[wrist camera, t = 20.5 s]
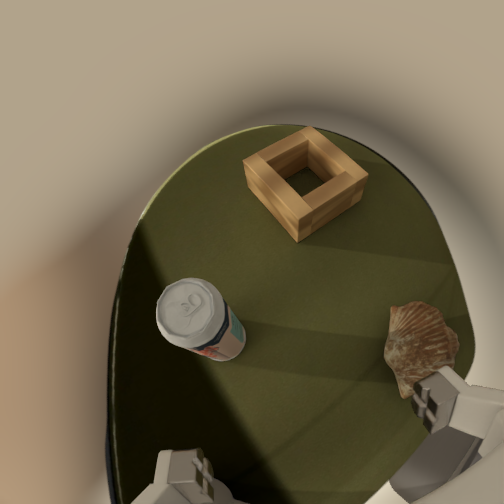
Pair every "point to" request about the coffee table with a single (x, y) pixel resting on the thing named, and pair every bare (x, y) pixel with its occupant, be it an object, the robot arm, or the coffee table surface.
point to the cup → (222, 494)
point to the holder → (292, 161)
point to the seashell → (418, 344)
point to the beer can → (199, 320)
